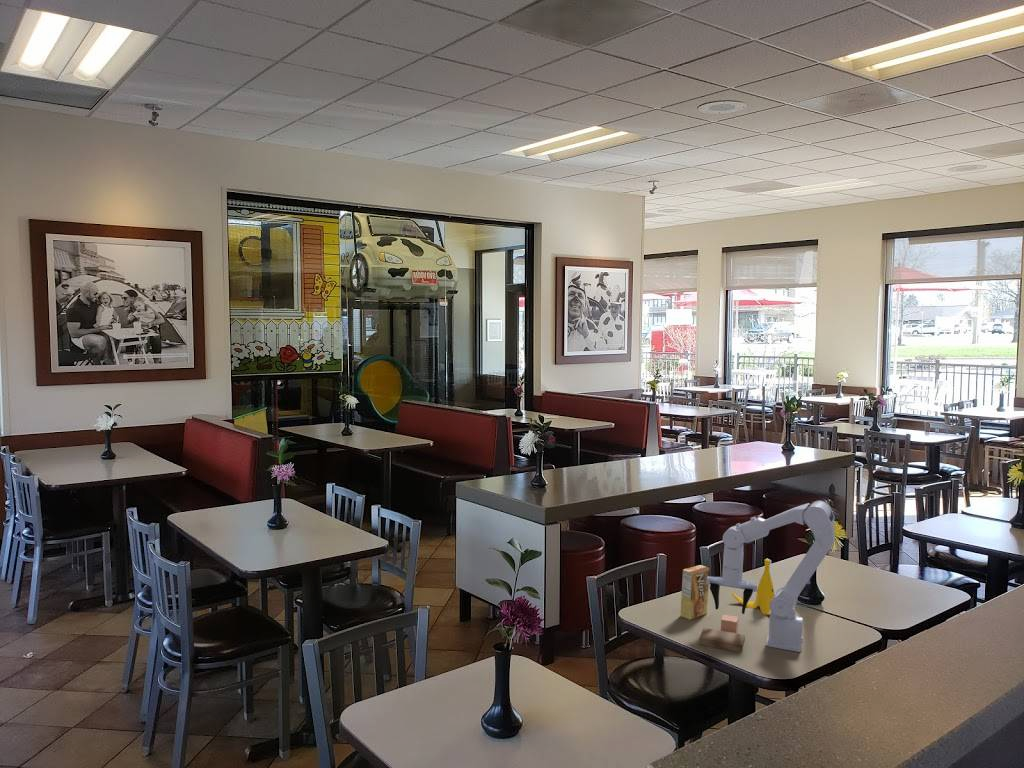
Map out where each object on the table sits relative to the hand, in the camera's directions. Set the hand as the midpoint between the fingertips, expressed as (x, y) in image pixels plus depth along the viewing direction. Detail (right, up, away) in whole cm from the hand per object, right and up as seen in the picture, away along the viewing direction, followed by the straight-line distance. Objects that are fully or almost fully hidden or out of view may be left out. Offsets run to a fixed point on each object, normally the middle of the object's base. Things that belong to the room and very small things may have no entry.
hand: (730, 610), depth 232 cm
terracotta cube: (0, -7, +1) cm, 7 cm away
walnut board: (-4, -7, -7) cm, 11 cm away
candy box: (-8, -6, +13) cm, 17 cm away
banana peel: (+15, -6, +22) cm, 28 cm away
